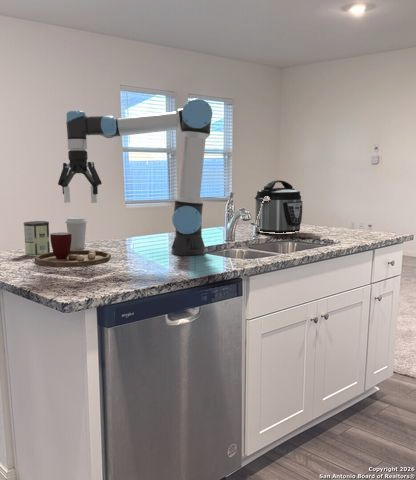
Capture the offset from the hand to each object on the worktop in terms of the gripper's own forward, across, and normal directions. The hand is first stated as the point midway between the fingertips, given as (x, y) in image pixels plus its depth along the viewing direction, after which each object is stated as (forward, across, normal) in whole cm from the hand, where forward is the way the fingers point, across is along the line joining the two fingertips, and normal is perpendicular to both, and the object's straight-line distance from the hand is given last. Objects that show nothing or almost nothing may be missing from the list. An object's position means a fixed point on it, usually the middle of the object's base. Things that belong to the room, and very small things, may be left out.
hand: (80, 202), depth 197 cm
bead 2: (+22, -8, +5) cm, 24 cm away
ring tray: (+23, -4, +11) cm, 26 cm away
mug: (+22, +3, +11) cm, 25 cm away
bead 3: (+22, -11, +10) cm, 27 cm away
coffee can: (+23, +23, +2) cm, 32 cm away
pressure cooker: (+26, -52, -119) cm, 132 cm away
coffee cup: (+23, +14, -13) cm, 30 cm away
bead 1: (+22, -10, +15) cm, 29 cm away
